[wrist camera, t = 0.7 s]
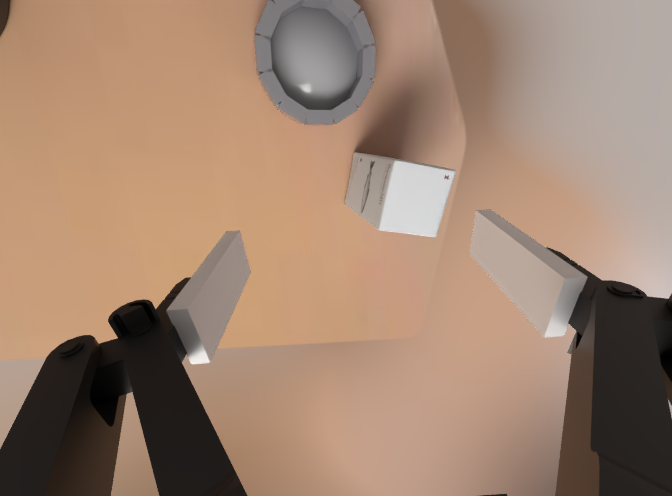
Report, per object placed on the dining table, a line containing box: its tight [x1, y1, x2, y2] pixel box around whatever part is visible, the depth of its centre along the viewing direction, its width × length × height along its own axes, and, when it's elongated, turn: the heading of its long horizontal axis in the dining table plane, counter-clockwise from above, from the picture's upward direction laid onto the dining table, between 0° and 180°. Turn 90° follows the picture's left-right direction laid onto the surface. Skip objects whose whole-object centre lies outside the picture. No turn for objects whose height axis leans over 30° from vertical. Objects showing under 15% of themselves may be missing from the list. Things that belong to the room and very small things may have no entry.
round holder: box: [254, 0, 376, 125], centre depth 32 cm, size 13×13×3 cm
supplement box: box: [344, 152, 456, 237], centre depth 34 cm, size 7×7×13 cm
